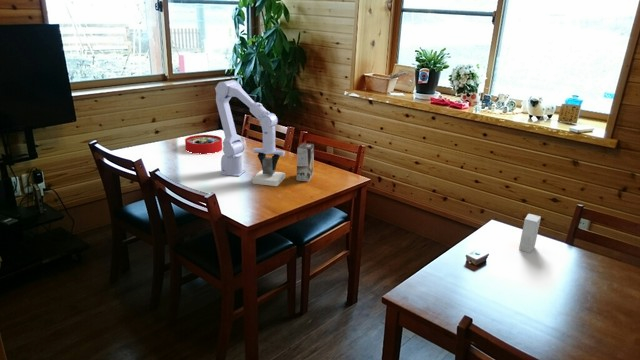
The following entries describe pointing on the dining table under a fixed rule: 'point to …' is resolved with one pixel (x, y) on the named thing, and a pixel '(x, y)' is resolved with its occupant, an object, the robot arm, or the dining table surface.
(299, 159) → the coffee box
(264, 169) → the block
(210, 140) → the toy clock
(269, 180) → the plinth
